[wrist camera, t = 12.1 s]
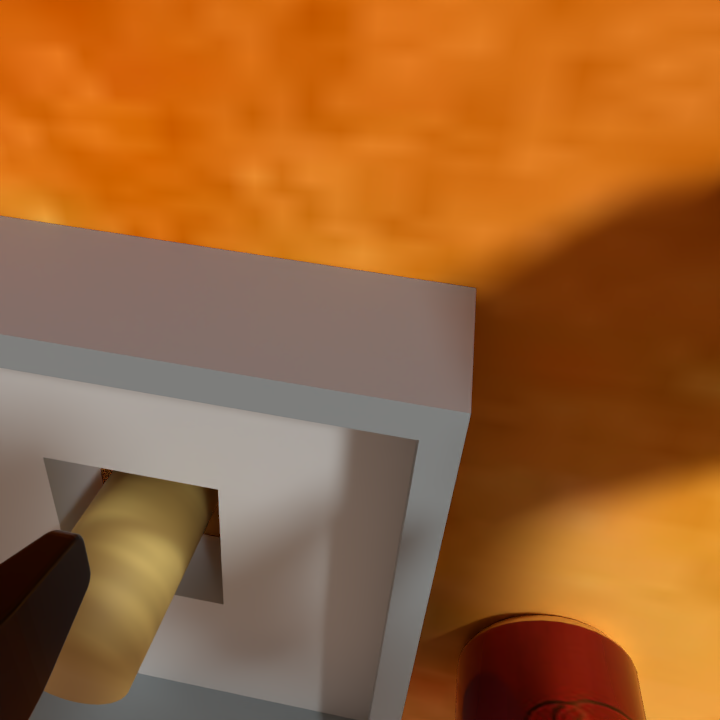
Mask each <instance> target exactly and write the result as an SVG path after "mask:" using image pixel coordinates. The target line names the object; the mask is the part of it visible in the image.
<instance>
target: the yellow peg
mask: <svg viewBox="0 0 720 720" xmlns="http://www.w3.org/2000/svg"><path fill="white" fill-rule="evenodd" d="M218 501H219V499H218V489H212V488H207V487H201V486H196V485H191V484H185V483H180V482H174V481H169V480H164V479H158V478H153V477H147V476H142V475H137V474H131V473H126V472H120V471H115V470H113V471H112V473H111V474H110V476H109V477H108V479H107V480H106V482H105V483H104V484H103V486H102V487H101V489H100V490H99V492H98V493H97V495H96V496H95V497H94V499H93V500H92V502H91V503H90V505H89V506H88V508H87V509H86V510H85V512H84V513H83V515H82V516H81V518H80V519H79V521H78V522H77V523H76V525H75V526H74V528H73V529H72V531H71V532H72V533H77V534H80V535H81V536H82V538H83V539H84V543H85V547H86V552H87V557H88V561H89V566H90V571H91V576H90V582H89V586H88V589H87V591H86V594H85V596H84V598H83V601H82V603H81V605H80V608H79V610H78V612H77V615H76V617H75V619H74V622H73V624H72V626H71V629H70V631H69V634H68V636H67V638H66V641H65V643H64V645H63V648H62V650H61V652H60V655H59V657H58V659H57V662H56V664H55V666H54V669H53V671H52V673H51V676H50V678H49V680H48V682H47V685H46V687H45V689H44V691H45V692H47V693H49V694H52V695H54V696H57V697H59V698H62V699H65V700H69V701H73V702H78V703H83V704H95V705H100V704H109V703H113V702H116V701H118V700H121V699H122V698H123V697H125V696H126V695H127V693H128V692H129V690H130V688H131V685H132V683H133V681H134V679H135V677H136V675H137V673H138V671H139V668H140V666H141V664H142V662H143V660H144V658H145V656H146V654H147V652H148V649H149V647H150V645H151V643H152V641H153V639H154V637H155V635H156V633H157V630H158V628H159V626H160V624H161V622H162V620H163V618H164V616H165V614H166V611H167V609H168V607H169V605H170V603H171V601H172V599H173V597H174V595H175V592H176V590H177V588H178V586H179V584H180V582H181V580H182V578H183V575H184V573H185V571H186V569H187V567H188V565H189V563H190V561H191V559H192V556H193V554H194V552H195V550H196V548H197V546H198V544H199V542H200V540H201V537H202V535H203V533H204V531H205V529H206V527H207V525H208V523H209V521H210V518H211V516H212V514H213V512H214V510H215V508H216V506H217V504H218Z"/></svg>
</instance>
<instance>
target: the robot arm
mask: <svg viewBox="0 0 720 720" xmlns="http://www.w3.org/2000/svg"><path fill="white" fill-rule="evenodd" d="M90 576H91V571H90V566H89V561H88V557H87V552H86V547H85V543H84V539H83V538H82V536H81V535H80V534H77V533H72V532H66V531H61V530H52V531H50V532H47V533H46V534H44V535H42V536H41V537H39V538H38V539H36V540H35V541H33V542H32V543H30V544H29V545H27V546H26V547H24V548H23V549H21V550H20V551H18V552H17V553H16V554H14V555H13V556H11V557H10V558H8V559H7V560H5V561H4V562H2V563H1V564H0V720H29V718H30V716H31V714H32V712H33V711H34V709H35V707H36V705H37V703H38V701H39V699H40V697H41V695H42V693H43V691H44V689H45V687H46V685H47V682H48V680H49V678H50V676H51V673H52V671H53V669H54V666H55V664H56V662H57V659H58V657H59V655H60V652H61V650H62V648H63V645H64V643H65V641H66V638H67V636H68V634H69V631H70V629H71V626H72V624H73V622H74V619H75V617H76V615H77V612H78V610H79V608H80V605H81V603H82V601H83V598H84V596H85V594H86V591H87V589H88V586H89V582H90Z"/></svg>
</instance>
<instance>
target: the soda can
mask: <svg viewBox="0 0 720 720" xmlns="http://www.w3.org/2000/svg"><path fill="white" fill-rule="evenodd" d="M455 720H646V716H645V711H644V706H643V701H642V696H641V691H640V685H639V680H638V675H637V671H636V668H635V666H634V664H633V662H632V660H631V658H630V657H629V655H628V654H627V653H626V652H625V651H624V650H623V648H622V647H621V646H620V645H618V644H617V643H616V642H614V641H613V640H612V639H610V638H609V637H608V636H607V635H605V634H604V633H603V632H601V631H599V630H597V629H595V628H593V627H591V626H589V625H587V624H584V623H581V622H579V621H576V620H573V619H568V618H563V617H559V616H549V615H525V616H519V617H513V618H508V619H505V620H502V621H499V622H496V623H494V624H492V625H490V626H488V627H486V628H484V629H483V630H482V631H481V632H479V633H478V634H477V635H476V636H475V637H473V638H472V639H471V640H470V641H469V642H468V643H467V645H466V646H465V647H464V649H463V650H462V652H461V654H460V657H459V660H458V665H457V687H456V709H455Z"/></svg>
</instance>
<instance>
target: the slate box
mask: <svg viewBox="0 0 720 720" xmlns="http://www.w3.org/2000/svg"><path fill="white" fill-rule="evenodd" d="M475 307H476V288H472V287H466V286H459V285H453V284H446V283H439V282H433V281H426V280H420V279H413V278H406V277H400V276H393V275H387V274H380V273H374V272H367V271H360V270H354V269H347V268H341V267H334V266H327V265H321V264H314V263H308V262H301V261H294V260H288V259H281V258H275V257H268V256H262V255H255V254H248V253H242V252H235V251H229V250H222V249H215V248H209V247H202V246H196V245H189V244H182V243H176V242H169V241H163V240H156V239H149V238H143V237H136V236H130V235H123V234H117V233H110V232H103V231H97V230H90V229H84V228H77V227H70V226H64V225H57V224H51V223H44V222H37V221H31V220H24V219H18V218H11V217H4V216H0V564H1V563H2V562H4V561H5V560H7V559H8V558H10V557H11V556H13V555H14V554H16V553H17V552H18V551H20V550H21V549H23V548H24V547H26V546H27V545H29V544H30V543H32V542H33V541H35V540H36V539H38V538H39V537H41V536H42V535H44V534H46V533H47V532H50V531H52V530H61V531H66V532H71V531H72V529H73V528H74V526H75V525H76V523H77V522H78V521H79V519H80V518H81V516H82V515H83V513H84V512H85V510H86V509H87V508H88V506H89V505H90V503H91V502H92V500H93V499H94V497H95V496H96V495H97V493H98V492H99V490H100V489H101V487H102V486H103V480H102V475H101V469H100V468H104V469H110V470H115V471H120V472H126V473H131V474H137V475H142V476H147V477H153V478H158V479H164V480H169V481H174V482H180V483H185V484H191V485H196V486H201V487H207V488H212V489H218V499H219V520H220V537H215V536H210V535H205V534H203V535H202V537H201V540H200V542H199V544H198V546H197V548H196V550H195V552H194V554H193V556H192V559H191V561H190V563H189V565H188V567H187V569H186V571H185V573H184V575H183V578H182V580H181V582H180V584H179V586H178V588H177V590H176V592H175V595H174V597H173V599H172V601H171V603H170V605H169V607H168V609H167V611H166V614H165V616H164V618H163V620H162V622H161V624H160V626H159V628H158V630H157V633H156V635H155V637H154V639H153V641H152V643H151V645H150V647H149V649H148V652H147V654H146V656H145V658H144V660H143V662H142V664H141V666H140V668H139V671H138V673H137V675H136V677H135V679H134V681H133V683H132V685H131V688H130V690H129V692H128V693H127V695H126V696H125V697H123V698H122V699H121V700H118V701H116V702H113V703H109V704H100V705H95V704H83V703H78V702H73V701H69V700H65V699H62V698H59V697H57V696H54V695H52V694H49V693H47V692H45V691H43V693H42V695H41V697H40V699H39V701H38V703H37V705H36V707H35V709H34V711H33V712H32V714H31V716H30V718H29V720H401V718H402V713H403V709H404V705H405V700H406V696H407V691H408V687H409V683H410V678H411V674H412V670H413V665H414V661H415V656H416V652H417V648H418V643H419V639H420V635H421V630H422V626H423V621H424V617H425V613H426V608H427V604H428V600H429V595H430V591H431V586H432V582H433V578H434V573H435V569H436V565H437V560H438V556H439V551H440V547H441V543H442V538H443V534H444V530H445V525H446V521H447V516H448V512H449V508H450V503H451V499H452V495H453V490H454V486H455V481H456V477H457V473H458V468H459V464H460V459H461V455H462V451H463V446H464V442H465V438H466V433H467V429H468V424H469V420H470V416H471V402H472V378H473V354H474V331H475Z"/></svg>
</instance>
